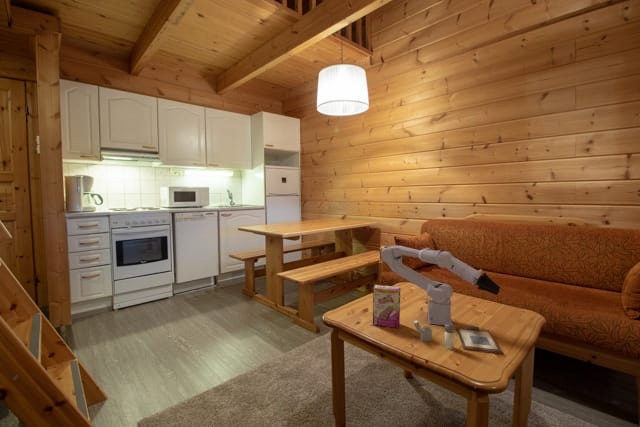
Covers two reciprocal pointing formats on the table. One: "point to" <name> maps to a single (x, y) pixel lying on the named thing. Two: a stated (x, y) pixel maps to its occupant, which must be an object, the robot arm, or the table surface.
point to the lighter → (423, 332)
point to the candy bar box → (386, 306)
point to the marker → (449, 336)
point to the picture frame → (477, 339)
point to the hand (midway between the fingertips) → (498, 291)
